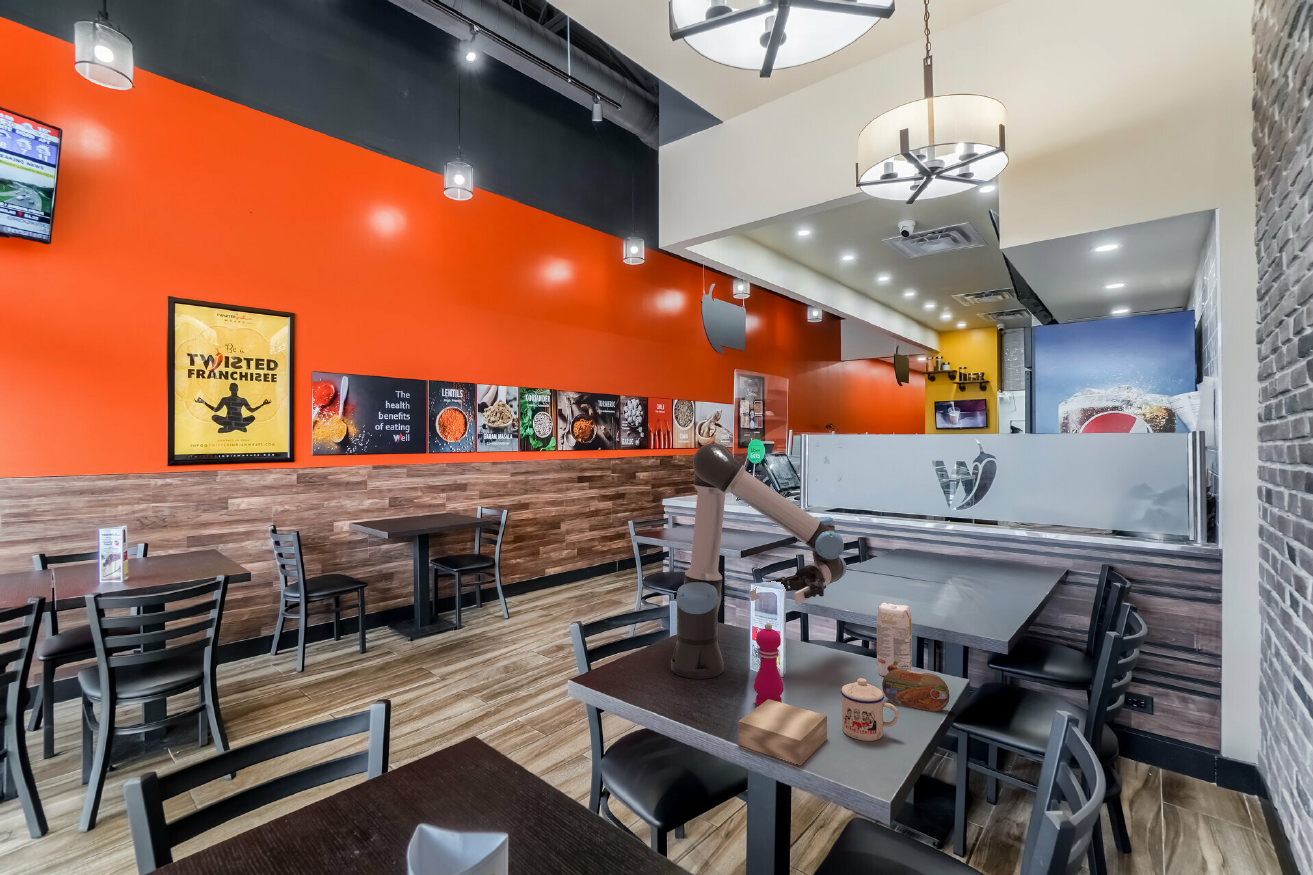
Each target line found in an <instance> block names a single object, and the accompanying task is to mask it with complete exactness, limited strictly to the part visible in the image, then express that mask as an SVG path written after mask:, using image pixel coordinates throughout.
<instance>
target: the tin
mask: <svg viewBox="0 0 1313 875" xmlns="http://www.w3.org/2000/svg"><path fill="white" fill-rule="evenodd" d="M883 677H884V678H883V680H882V684H881V686H882V687H881V688H882V693H883V695H884V697H886V699H887V700H888V701H890V702H891V704H893V705H895V706H898V707H899V706H900V707H905V708H910V709H917V710H922V711H927V712H940V711H942V710H943V709H945V708H946V707H947V706H948V705H949V701H950V690H949V688H948V685H947V683H946V681H944V680H943V678H941V677H940V676H938V675H937V674H934V673H927V672H923V671H916V670H915V671H914V670H910V671H909V670H903V669H894V670H892V671H890V672H888V673H887V675H886V676H883Z"/></svg>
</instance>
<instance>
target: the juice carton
mask: <svg viewBox="0 0 1313 875" xmlns="http://www.w3.org/2000/svg"><path fill="white" fill-rule="evenodd" d="M912 624H913V623H912V613H911V609H910V606H909V605H906V604H905V605H903V604H893V603H889V602H882V603H881V604H880V605H879V606H878V609H877V614H876V664H877V668H878V669H877V670H878V673H879V676H881V677H882V676H883V677H885V676H886V675H887V673H888V672H890V671H892V670H894V669H903V670H909V671H911V670H912V669H911V668H912V665H913V663H912V662H913V647H912V646H913V645H912V644H913V643H912V642H913V641H912V639H913V638H912V637H913V636H912Z"/></svg>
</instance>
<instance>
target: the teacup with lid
mask: <svg viewBox="0 0 1313 875" xmlns="http://www.w3.org/2000/svg"><path fill="white" fill-rule="evenodd" d="M840 689H841V690H840V694H841V727H842V728H841V729H842V731H843V733H844V734H846V736H848V737H850V738H852V739H855V740H859V741H864V742H865V741H866V742H873V741H878V740H880V739H881V738H883V736H884V727H892V726H894V725H896V724H897V722H898V719H899V710H898V709H897V707H896V705H895V704H893V703H890V702H884V699H885V694H884V692H883V690H881V689H880V688H879V687H876V686H874V685H873V684H872V685H871V683H868V681H867V679H866V678H862V677H859V678H857V681H855V682H853V683H852V682H851V683H847V684H844V685H843V686H842V687H841V688H840ZM884 708H889V709H891V710H892V711H893V712H894V717H893V719H892V720H891V721H884Z"/></svg>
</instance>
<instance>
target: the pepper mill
mask: <svg viewBox="0 0 1313 875" xmlns="http://www.w3.org/2000/svg"><path fill="white" fill-rule="evenodd" d="M772 628H773V625H772V624H771V623H770V622H766V623H765V624H764V628H763V629H760V630H759V631H758V632H757V633H756V638H755V642H756V644H757V646H758V648H757V651H758V654H757V655H758V656H759V658H760V660H759V661H760V664H759V669H758V672H757V673H756V675H755V677H754V678H755V679H754V681H753V689H754V691H755V693H756V695H755V704H756V707H758V706H760V705H761V704H762V703H764V702H765V701H767V700H768V699H770V700H774V701H777V702H781V703H783V701H782V700H783V699H782V697H781V695H782V694H783V692H784V689H785V688H784V682H783V679H782V677H781V674H780V672H779V668H778V663H777V660H778V657H779V656H780V654H779V647H780V646H781V644H782V643H781V642H782V640H781V639H782V638H781V636H780V634H779V633H778V631H776V630H775V629H772Z"/></svg>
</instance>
